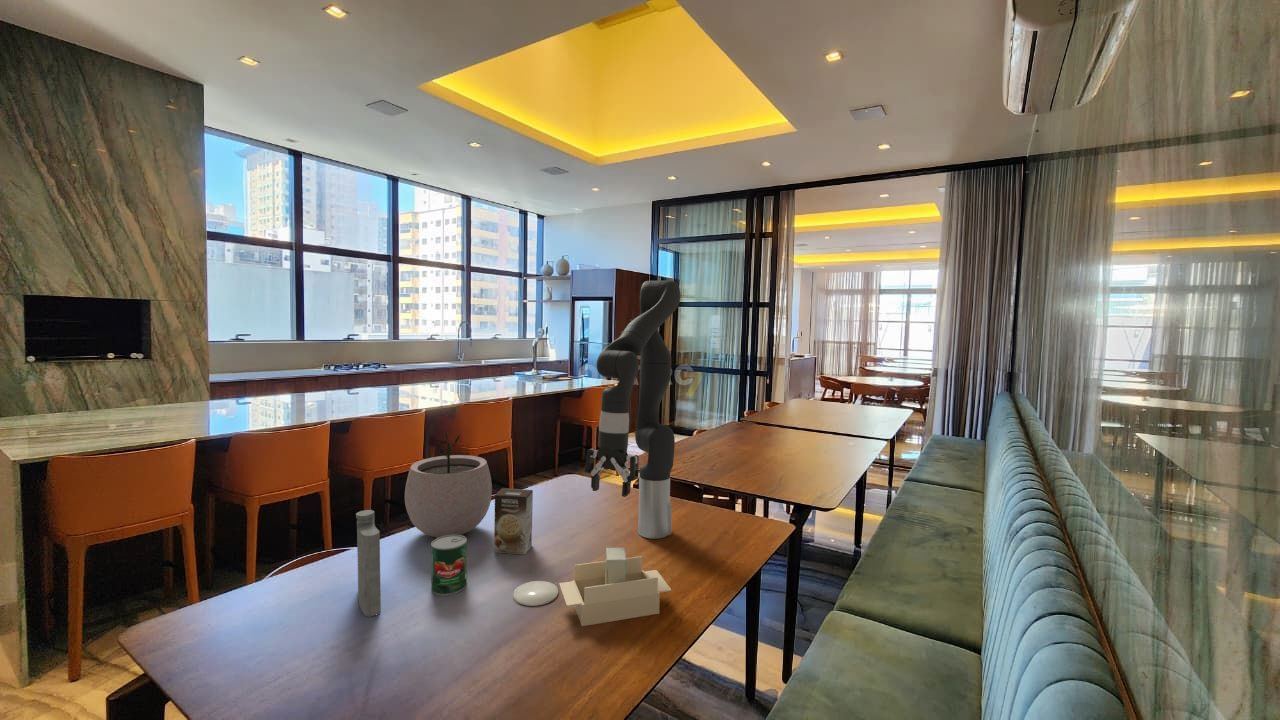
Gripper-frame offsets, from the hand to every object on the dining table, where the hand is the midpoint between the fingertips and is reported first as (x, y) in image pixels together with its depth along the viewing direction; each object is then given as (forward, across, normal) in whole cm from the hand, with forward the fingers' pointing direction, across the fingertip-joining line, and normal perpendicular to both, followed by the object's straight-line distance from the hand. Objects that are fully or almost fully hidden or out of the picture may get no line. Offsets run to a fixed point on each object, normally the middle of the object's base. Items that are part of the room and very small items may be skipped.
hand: (610, 493), depth 131 cm
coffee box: (+20, +28, +1) cm, 35 cm away
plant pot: (+21, +52, +2) cm, 56 cm away
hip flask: (+23, +39, +37) cm, 59 cm away
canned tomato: (+22, +28, +25) cm, 43 cm away
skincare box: (+20, -10, +14) cm, 27 cm away
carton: (+20, -10, +14) cm, 27 cm away
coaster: (+21, +8, +18) cm, 29 cm away
